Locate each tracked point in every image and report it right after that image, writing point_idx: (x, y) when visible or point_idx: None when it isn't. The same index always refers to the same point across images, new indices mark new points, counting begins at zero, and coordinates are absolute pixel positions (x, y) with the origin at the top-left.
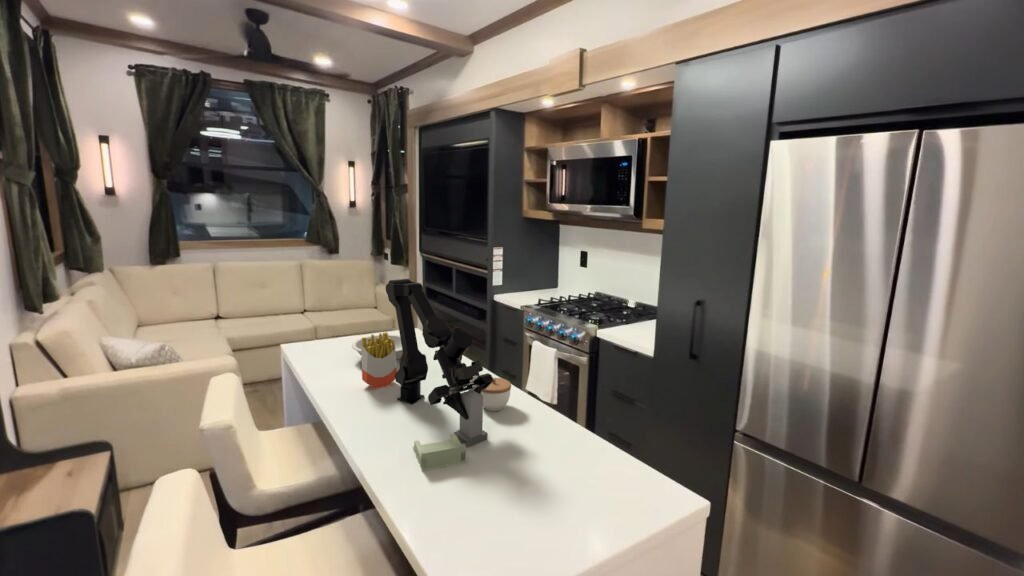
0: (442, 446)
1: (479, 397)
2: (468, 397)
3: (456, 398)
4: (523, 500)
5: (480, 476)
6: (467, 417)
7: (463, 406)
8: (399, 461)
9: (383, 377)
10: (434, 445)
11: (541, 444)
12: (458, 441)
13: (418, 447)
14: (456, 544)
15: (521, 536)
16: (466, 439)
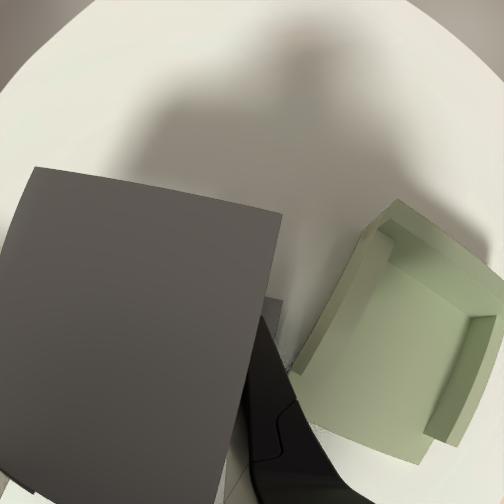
0: (354, 388)
1: (95, 177)
2: (232, 329)
3: (348, 497)
4: (355, 39)
5: (378, 142)
6: (262, 317)
7: (260, 391)
8: (485, 410)
9: None
10: (368, 419)
11: (86, 108)
12: (349, 302)
13: (479, 391)
14: (499, 98)
15: (416, 30)
16: (271, 313)
